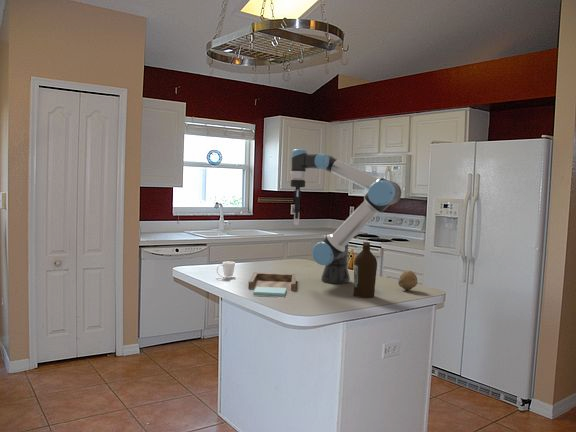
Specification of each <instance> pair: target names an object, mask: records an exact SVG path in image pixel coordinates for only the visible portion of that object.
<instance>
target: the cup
mask: <svg viewBox="0 0 576 432" xmlns="http://www.w3.org/2000/svg"><path fill="white" fill-rule="evenodd" d="M220 266H222V269H223V276H222V275H221V274H219V272H218V271H219V267H220ZM235 266H236V262H235V261H227V260H226V261H222V264H218V266H217V267H216V273H217V275H218V276H219V277H221V278H224V279H233V274H234V272H235V271H234V270H235Z"/></svg>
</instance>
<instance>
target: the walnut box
mask: <svg viewBox="0 0 576 432" xmlns="http://www.w3.org/2000/svg"><path fill="white" fill-rule="evenodd" d="M296 283H297V274H293V273H269V272H253V274H252V275H251V276H250V279H249V280H248V287H247V289H250V290H251V289H252V290H255V288H256V287H275V288H286V291H294V292H295V291H296Z"/></svg>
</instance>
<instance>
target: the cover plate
mask: <svg viewBox="0 0 576 432" xmlns="http://www.w3.org/2000/svg"><path fill="white" fill-rule="evenodd" d="M286 292H287V290H286V288H275V287H256V288H255V289H253V293H252V294H253V296H257V297H263V298H272V296H273V297H284V298H283V299H285V298H286Z"/></svg>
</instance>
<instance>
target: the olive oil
mask: <svg viewBox="0 0 576 432" xmlns="http://www.w3.org/2000/svg"><path fill="white" fill-rule="evenodd" d="M362 243H363V244H362V250H361V251H360V252H359V253H358V254H357V255H356V257H355V258H354V262H353V296H354V297H358V298H363V299H364V298H365V299H369V298H370V299H372V298H374V297H375V291H376V290H375V289H376V280H377V279H376V278H377V271H378V270H377V269H378V260H377V258H376V256H375V255H374V254H373V253H372V252H371V242H370V241H363V242H362Z"/></svg>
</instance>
